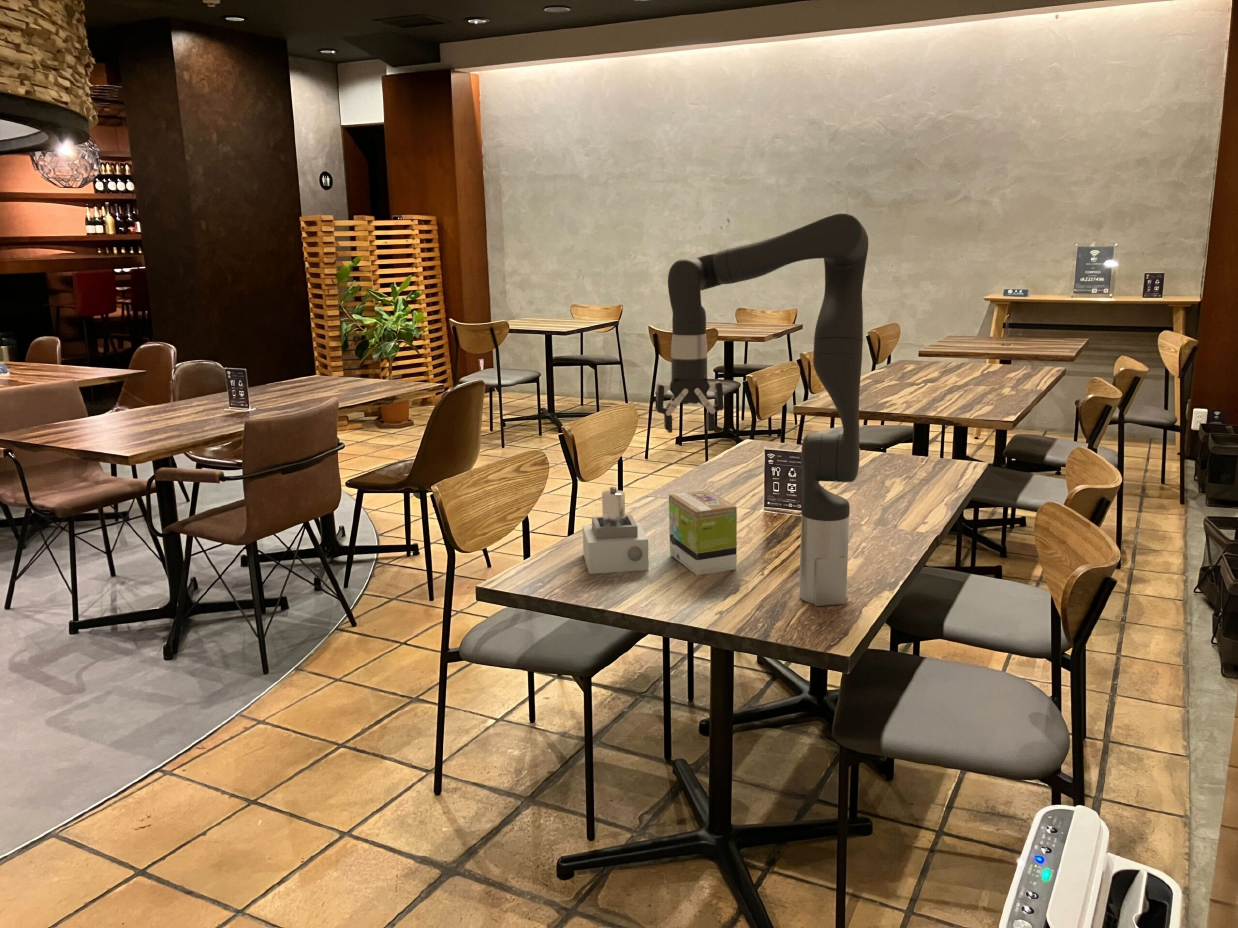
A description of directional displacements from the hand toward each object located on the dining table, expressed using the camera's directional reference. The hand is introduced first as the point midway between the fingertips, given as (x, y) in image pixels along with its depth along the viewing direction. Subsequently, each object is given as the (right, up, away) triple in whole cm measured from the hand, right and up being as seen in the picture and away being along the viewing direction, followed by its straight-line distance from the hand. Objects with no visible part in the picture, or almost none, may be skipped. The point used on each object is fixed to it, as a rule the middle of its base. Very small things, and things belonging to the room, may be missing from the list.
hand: (689, 431), depth 208 cm
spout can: (-16, -22, +8) cm, 29 cm away
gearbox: (-16, -29, +10) cm, 34 cm away
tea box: (+3, -29, +8) cm, 31 cm away
